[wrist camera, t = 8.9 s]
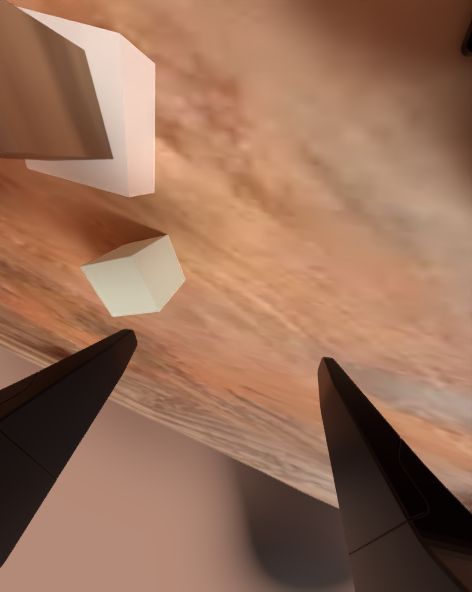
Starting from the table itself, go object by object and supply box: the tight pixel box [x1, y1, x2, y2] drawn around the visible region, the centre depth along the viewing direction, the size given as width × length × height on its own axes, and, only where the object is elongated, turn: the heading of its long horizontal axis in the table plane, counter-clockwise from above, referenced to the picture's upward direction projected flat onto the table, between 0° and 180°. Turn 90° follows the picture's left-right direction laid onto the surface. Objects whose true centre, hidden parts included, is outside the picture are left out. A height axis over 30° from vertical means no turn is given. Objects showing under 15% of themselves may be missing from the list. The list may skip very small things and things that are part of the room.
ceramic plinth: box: [16, 6, 155, 197], centre depth 15 cm, size 8×8×4 cm
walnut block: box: [0, 0, 113, 161], centre depth 10 cm, size 5×5×6 cm
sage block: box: [80, 235, 186, 317], centre depth 19 cm, size 5×5×6 cm
